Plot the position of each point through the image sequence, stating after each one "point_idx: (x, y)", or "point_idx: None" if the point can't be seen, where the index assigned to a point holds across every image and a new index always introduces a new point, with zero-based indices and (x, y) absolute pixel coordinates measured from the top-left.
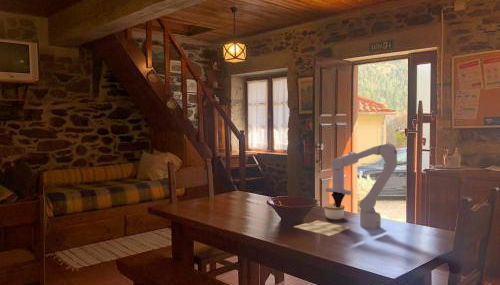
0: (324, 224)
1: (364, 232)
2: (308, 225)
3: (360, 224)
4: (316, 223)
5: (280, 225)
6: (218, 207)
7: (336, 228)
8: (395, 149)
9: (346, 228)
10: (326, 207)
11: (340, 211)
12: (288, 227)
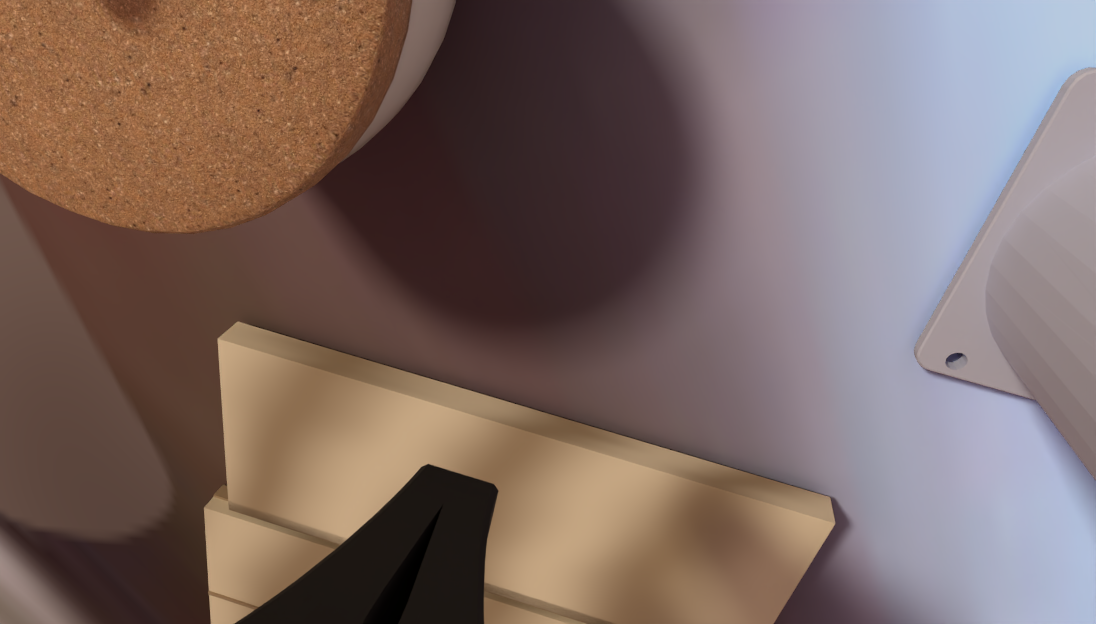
0: None
1: (1080, 507)
2: (293, 581)
3: (1021, 377)
4: (307, 476)
5: (47, 568)
6: None
7: (651, 595)
8: None
9: (789, 571)
10: (43, 191)
11: (410, 73)
12: (153, 603)
